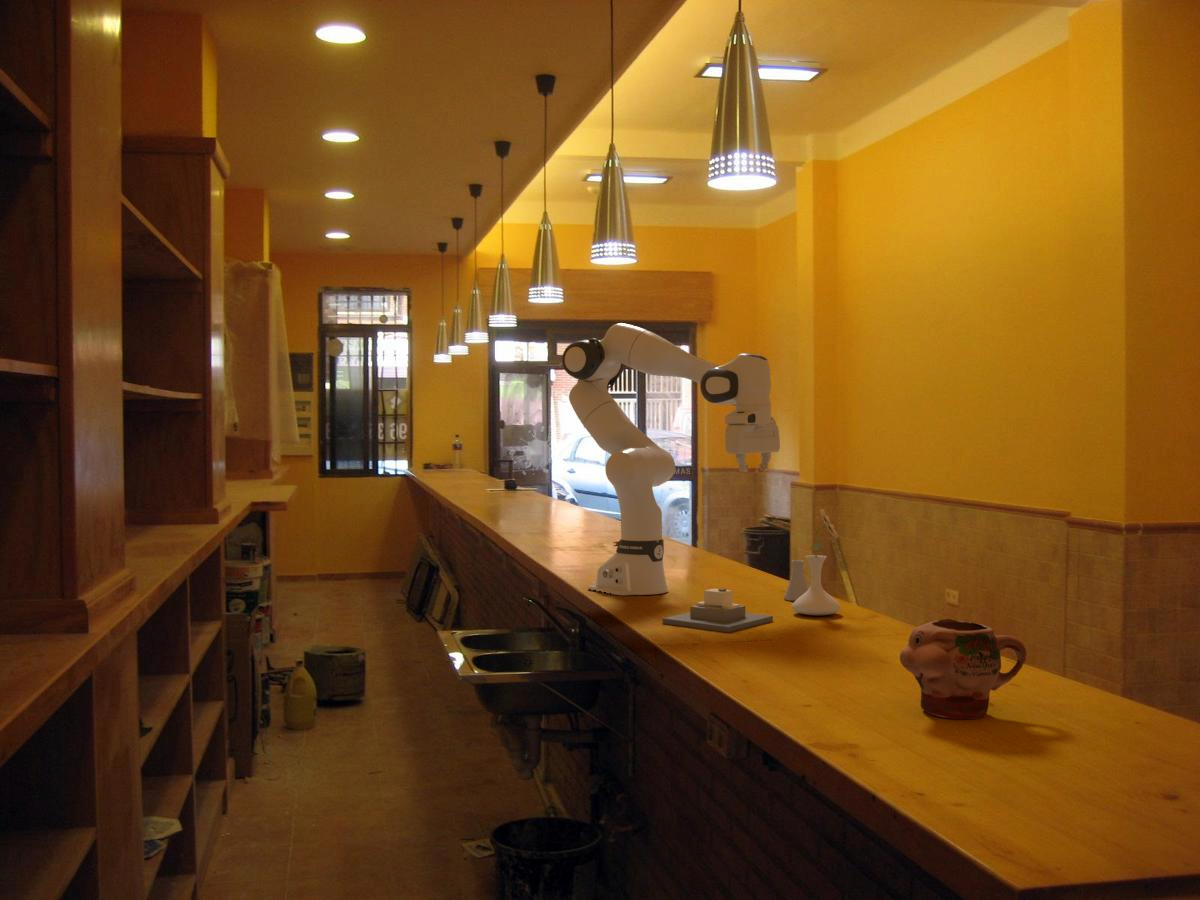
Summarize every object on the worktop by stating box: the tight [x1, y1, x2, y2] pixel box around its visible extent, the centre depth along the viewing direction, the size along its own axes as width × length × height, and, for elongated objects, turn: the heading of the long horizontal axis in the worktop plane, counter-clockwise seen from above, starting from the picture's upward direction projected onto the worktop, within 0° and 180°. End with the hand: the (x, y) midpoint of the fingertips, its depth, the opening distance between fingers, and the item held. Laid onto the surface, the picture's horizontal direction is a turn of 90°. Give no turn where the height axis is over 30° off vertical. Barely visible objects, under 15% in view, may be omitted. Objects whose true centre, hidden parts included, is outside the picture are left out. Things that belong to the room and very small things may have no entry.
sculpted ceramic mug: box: [899, 618, 1027, 720], centre depth 179 cm, size 20×12×14 cm, turn 99°
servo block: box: [695, 588, 741, 609], centre depth 260 cm, size 9×4×6 cm, turn 49°
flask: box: [783, 559, 809, 602], centre depth 293 cm, size 7×7×10 cm
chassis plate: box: [662, 604, 774, 634], centre depth 260 cm, size 18×18×4 cm
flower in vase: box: [791, 508, 841, 616], centre depth 270 cm, size 13×11×25 cm
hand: (753, 471), depth 291 cm, fingers open, 8 cm apart
